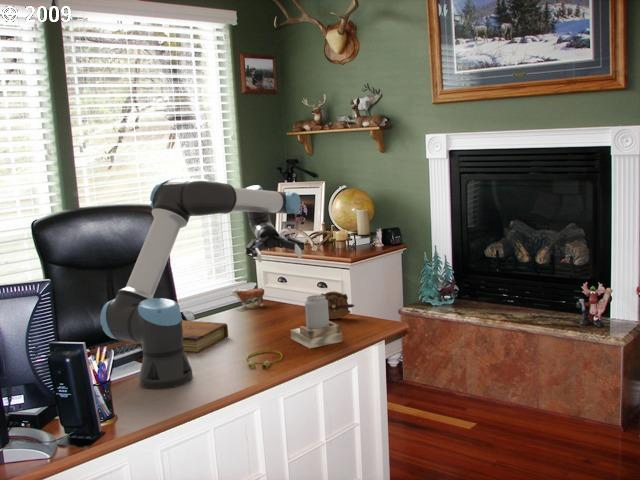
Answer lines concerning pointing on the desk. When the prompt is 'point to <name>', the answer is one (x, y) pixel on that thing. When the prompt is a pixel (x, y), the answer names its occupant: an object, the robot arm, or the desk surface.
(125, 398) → the desk surface
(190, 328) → the diary
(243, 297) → the bull figurine
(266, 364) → the torc
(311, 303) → the can
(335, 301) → the wooden carving
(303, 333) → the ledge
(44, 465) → the desk surface
